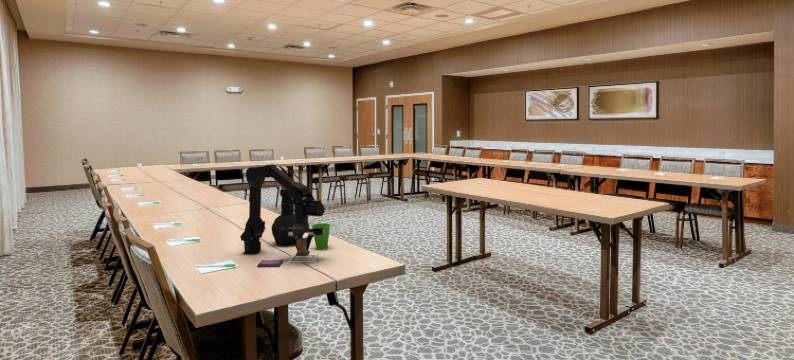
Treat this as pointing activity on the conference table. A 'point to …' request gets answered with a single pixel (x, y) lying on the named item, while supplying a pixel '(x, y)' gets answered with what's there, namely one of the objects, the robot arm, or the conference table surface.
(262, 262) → the ink pad
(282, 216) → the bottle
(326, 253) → the conference table surface
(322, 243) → the cup
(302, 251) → the stamp
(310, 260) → the frame
